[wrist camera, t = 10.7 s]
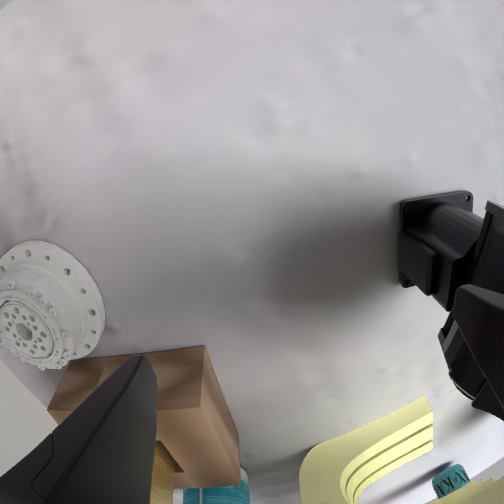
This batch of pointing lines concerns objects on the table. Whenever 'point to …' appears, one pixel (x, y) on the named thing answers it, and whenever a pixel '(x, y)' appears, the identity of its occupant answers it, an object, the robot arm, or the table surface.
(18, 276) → the mechanical component
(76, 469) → the robot arm
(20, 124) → the table surface
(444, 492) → the beverage bottle
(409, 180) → the table surface
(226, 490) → the pill bottle
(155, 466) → the brushed gold block
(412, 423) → the slatted curved stool
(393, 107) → the table surface
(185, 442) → the slotted wooden block
